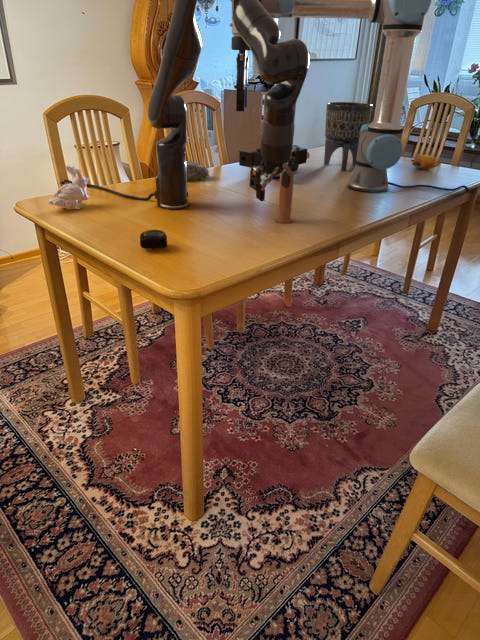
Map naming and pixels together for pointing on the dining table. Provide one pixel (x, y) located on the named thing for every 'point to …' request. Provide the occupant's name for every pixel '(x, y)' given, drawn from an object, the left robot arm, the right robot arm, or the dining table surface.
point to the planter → (344, 129)
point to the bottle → (285, 201)
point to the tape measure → (153, 239)
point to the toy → (425, 162)
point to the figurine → (71, 191)
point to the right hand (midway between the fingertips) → (241, 109)
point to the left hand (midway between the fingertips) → (272, 193)
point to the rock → (195, 171)
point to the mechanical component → (255, 157)
